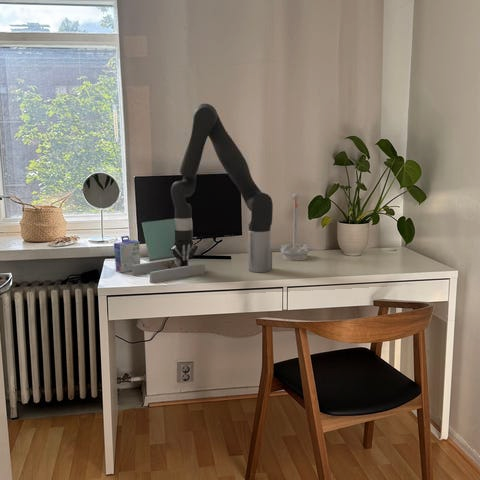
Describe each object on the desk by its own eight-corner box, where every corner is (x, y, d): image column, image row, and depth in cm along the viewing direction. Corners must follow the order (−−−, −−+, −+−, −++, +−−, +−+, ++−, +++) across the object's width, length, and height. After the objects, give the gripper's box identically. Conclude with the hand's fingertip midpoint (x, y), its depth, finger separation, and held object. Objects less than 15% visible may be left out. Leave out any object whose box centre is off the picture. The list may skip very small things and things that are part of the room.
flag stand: (278, 255, 294) (278, 191, 288) (305, 254, 295) (306, 191, 289) (283, 261, 281) (283, 195, 275) (311, 260, 282) (312, 194, 276)
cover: (184, 255, 270) (183, 256, 271) (177, 218, 272) (175, 219, 273) (150, 261, 260) (149, 261, 261) (142, 222, 262) (141, 222, 263)
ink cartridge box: (134, 267, 271) (133, 234, 268) (141, 269, 267) (140, 236, 264) (114, 270, 265) (113, 237, 262) (121, 272, 261) (119, 239, 258)
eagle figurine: (158, 271, 258) (168, 271, 251) (165, 255, 260) (175, 255, 253) (173, 279, 262) (183, 279, 254) (179, 263, 264) (190, 263, 256)
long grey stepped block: (183, 266, 272) (183, 257, 272) (204, 273, 259) (204, 263, 258) (132, 274, 258) (131, 265, 257) (151, 282, 244) (151, 272, 244)
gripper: (174, 231, 253) (175, 272, 256) (201, 227, 261) (202, 268, 264) (165, 228, 259) (166, 269, 262) (192, 225, 267) (192, 264, 270)
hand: (184, 268), depth 263 cm, fingers closed
